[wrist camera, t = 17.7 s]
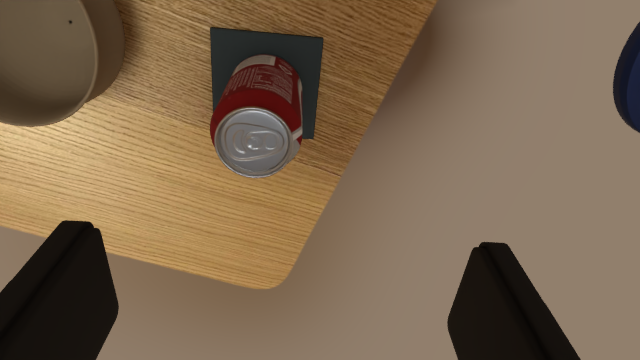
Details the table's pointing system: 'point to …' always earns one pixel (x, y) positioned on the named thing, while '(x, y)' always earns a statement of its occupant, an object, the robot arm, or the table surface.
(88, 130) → the table surface
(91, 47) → the bowl
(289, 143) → the soda can
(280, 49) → the coaster mat
